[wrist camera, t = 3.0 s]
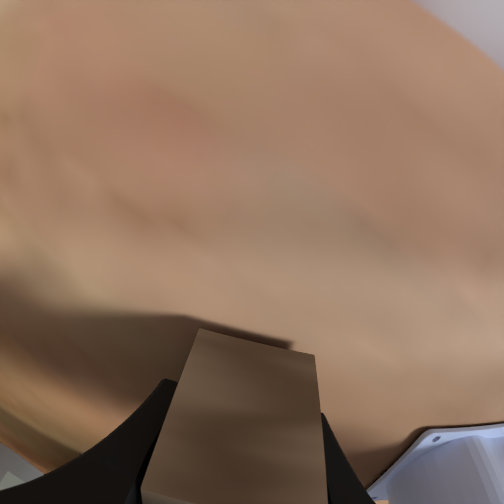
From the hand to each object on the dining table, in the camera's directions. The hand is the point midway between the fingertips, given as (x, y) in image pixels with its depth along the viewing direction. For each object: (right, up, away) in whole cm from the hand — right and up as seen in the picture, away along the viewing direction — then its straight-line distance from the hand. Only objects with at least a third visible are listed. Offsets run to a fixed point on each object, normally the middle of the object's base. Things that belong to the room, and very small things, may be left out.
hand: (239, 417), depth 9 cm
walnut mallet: (-2, -6, +5) cm, 8 cm away
